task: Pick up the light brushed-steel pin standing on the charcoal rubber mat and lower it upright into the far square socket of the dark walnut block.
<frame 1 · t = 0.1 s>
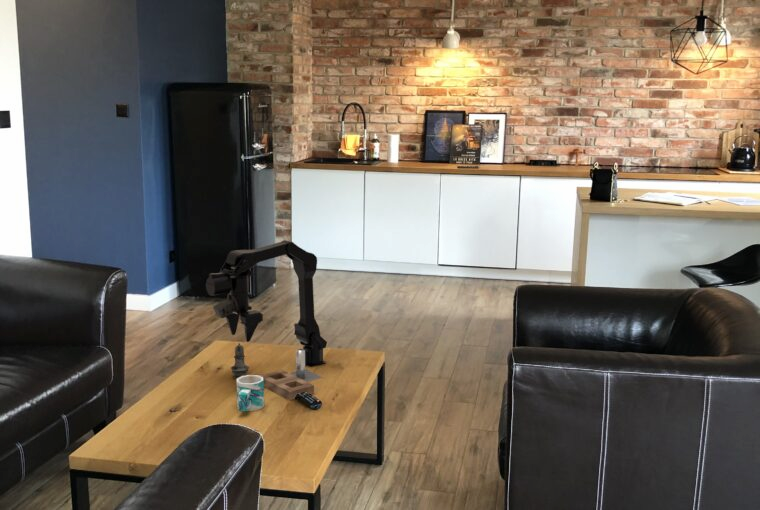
hand: (240, 338, 260), 15 cm above the table, fingers open, 9 cm apart
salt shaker: (240, 378, 266), on the table
socket block: (285, 389, 256), on the table
mug: (248, 408, 241), on the table
mat: (301, 377, 267), on the table
pin: (300, 378, 265), resting on mat
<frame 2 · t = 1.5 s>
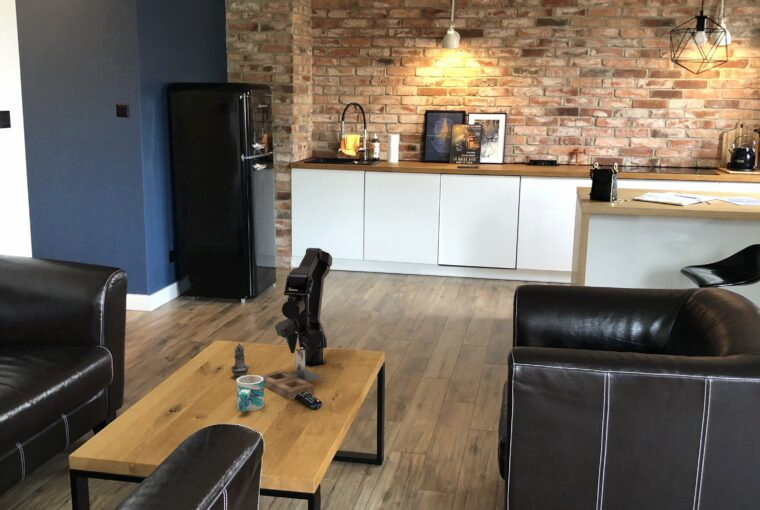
hand: (300, 356, 264), 8 cm above the table, fingers open, 9 cm apart
nothing on the table moved.
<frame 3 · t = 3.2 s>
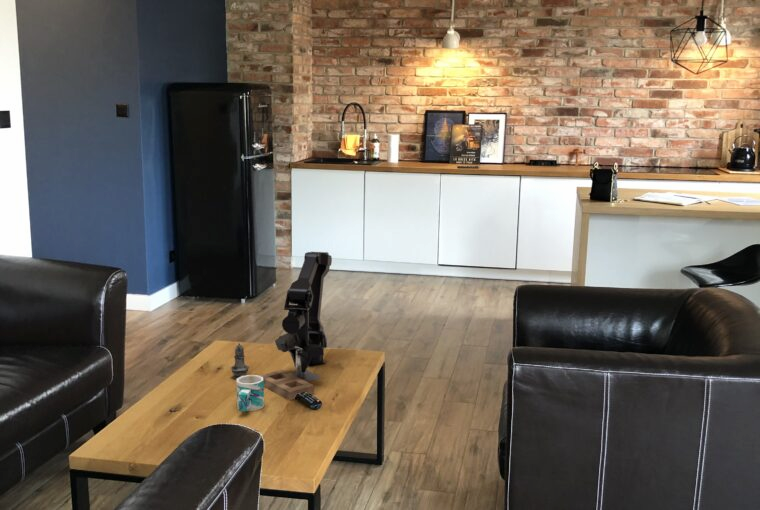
hand: (300, 370, 265), 3 cm above the table, fingers closed on pin, 3 cm apart
pin: (300, 378, 265), resting on mat, touching gripper
everything else where it was.
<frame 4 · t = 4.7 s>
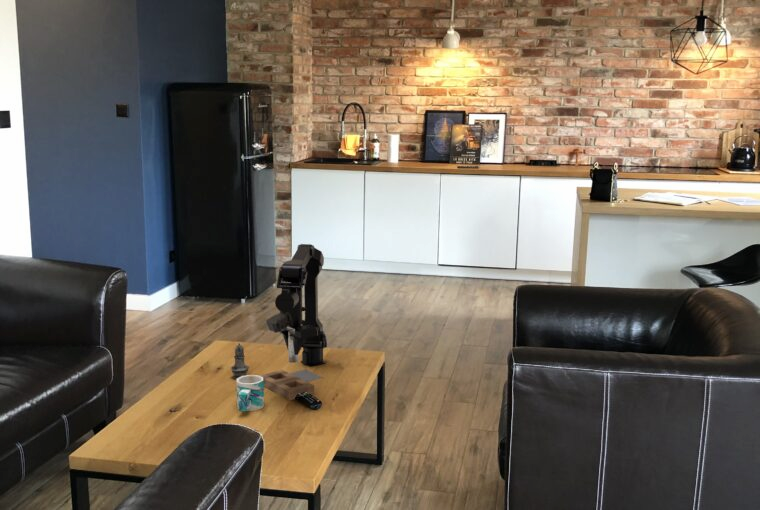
hand: (293, 353, 250), 13 cm above the table, fingers closed on pin, 3 cm apart
pin: (293, 361, 251), point 10 cm above the table, touching gripper
everything else where it was.
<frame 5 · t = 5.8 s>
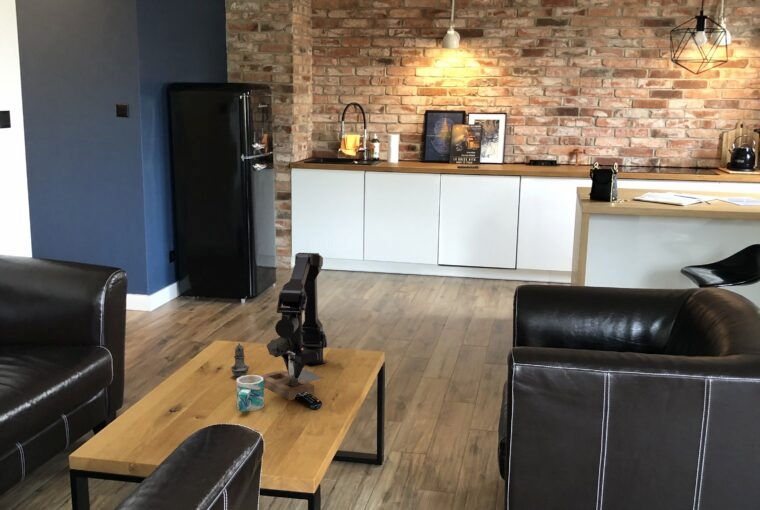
hand: (293, 376, 251), 6 cm above the table, fingers closed on pin, 3 cm apart
pin: (293, 384, 252), point 3 cm above the table, touching gripper
everything else where it was.
when the fingers open (4 cm above the table, at t = 6.7 s): pin drops 1 cm, resting in socket block.
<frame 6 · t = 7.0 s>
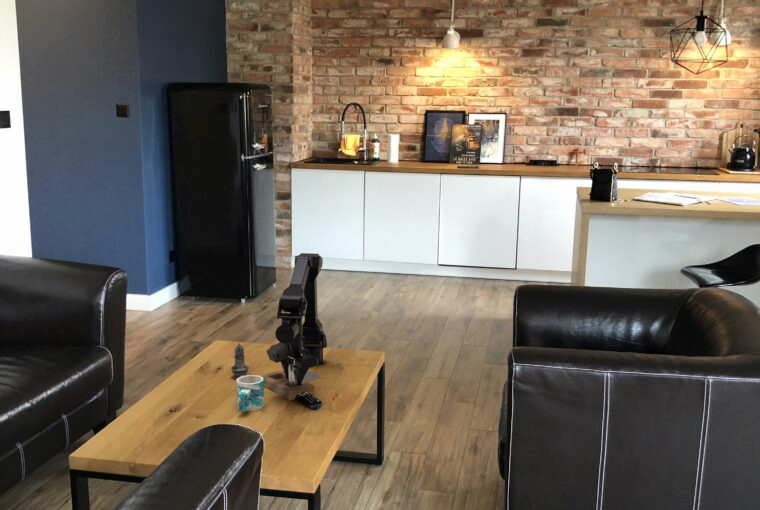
hand: (293, 381, 252), 4 cm above the table, fingers open, 6 cm apart
pin: (293, 393, 252), resting in socket block
everything else where it was.
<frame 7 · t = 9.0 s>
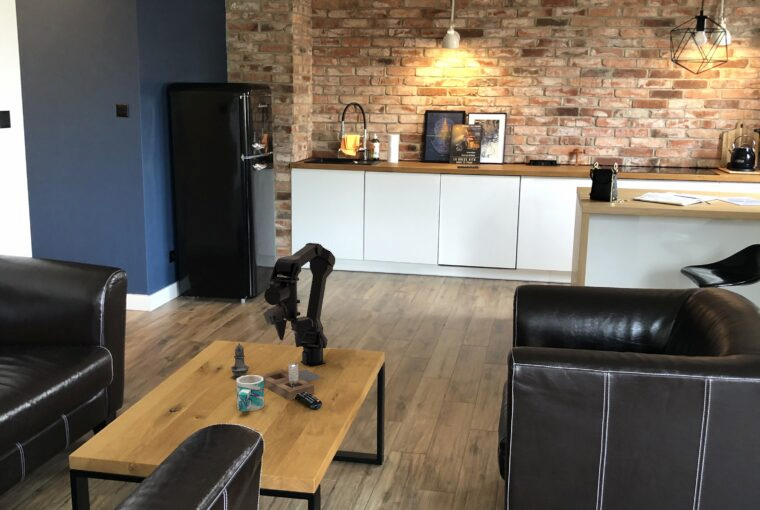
hand: (289, 343, 263), 12 cm above the table, fingers open, 9 cm apart
nothing on the table moved.
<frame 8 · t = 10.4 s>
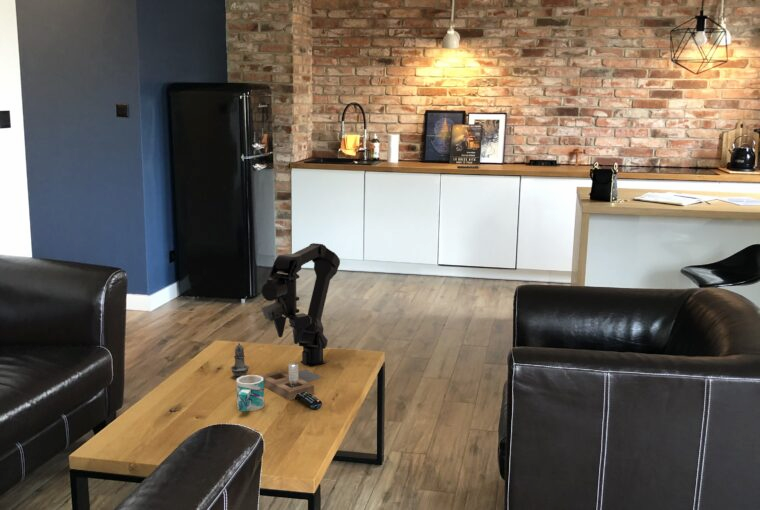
hand: (288, 340, 264), 13 cm above the table, fingers open, 9 cm apart
nothing on the table moved.
at the end: pin 0.0 cm from the target spot on the socket block, point 0.0 cm above the socket block's base; pin tilted 0°; the gripper is holding nothing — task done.
